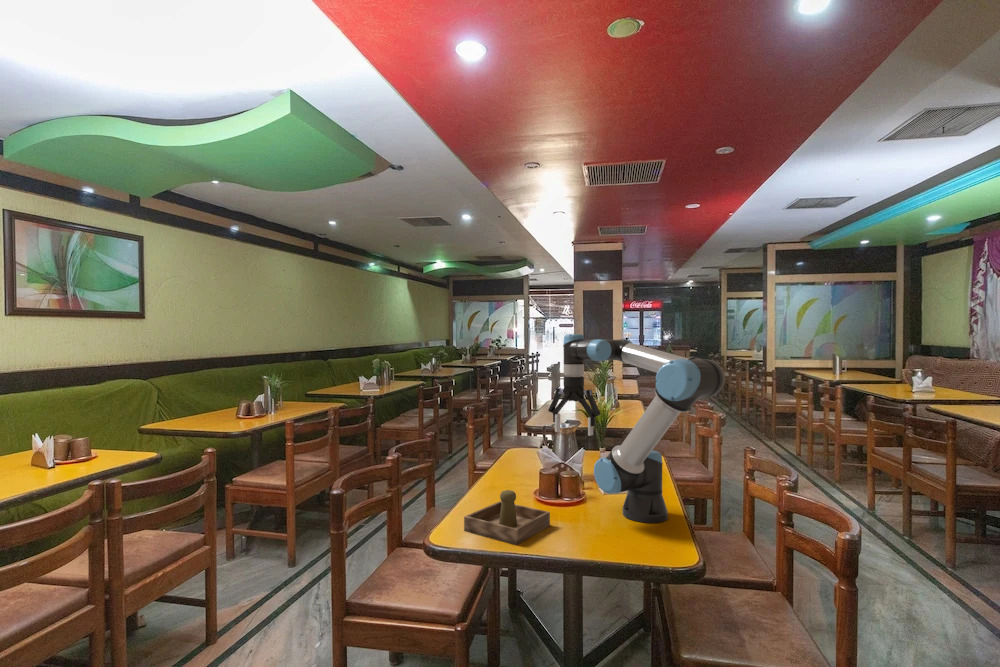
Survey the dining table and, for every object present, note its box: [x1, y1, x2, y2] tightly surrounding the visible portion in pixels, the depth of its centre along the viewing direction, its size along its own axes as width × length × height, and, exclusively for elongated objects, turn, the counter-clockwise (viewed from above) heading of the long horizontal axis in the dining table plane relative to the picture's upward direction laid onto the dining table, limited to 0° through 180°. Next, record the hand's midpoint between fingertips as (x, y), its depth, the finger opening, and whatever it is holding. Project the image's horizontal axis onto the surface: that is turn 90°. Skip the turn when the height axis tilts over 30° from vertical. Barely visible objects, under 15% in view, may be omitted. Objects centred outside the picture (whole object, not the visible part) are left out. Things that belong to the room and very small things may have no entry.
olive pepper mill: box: [499, 489, 517, 528], centre depth 166 cm, size 6×6×11 cm
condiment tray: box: [463, 500, 551, 546], centre depth 166 cm, size 20×20×4 cm
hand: (573, 433), depth 190 cm, fingers open, 13 cm apart
